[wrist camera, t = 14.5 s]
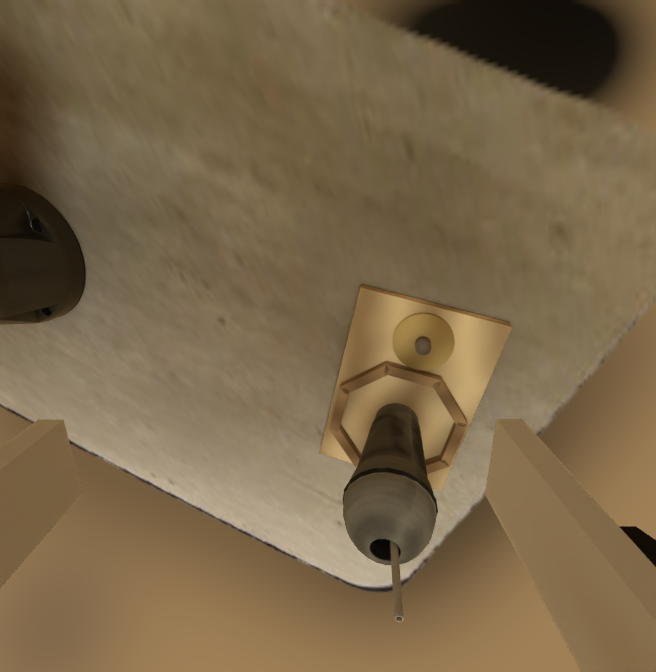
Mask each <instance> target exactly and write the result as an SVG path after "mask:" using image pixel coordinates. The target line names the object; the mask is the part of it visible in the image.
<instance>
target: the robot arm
mask: <svg viewBox="0 0 656 672" xmlns="http://www.w3.org/2000/svg"><path fill="white" fill-rule="evenodd" d="M83 286H84V264H83V259H82V255H81V251H80V248H79V245H78V243H77V241H76V238H75V236H74V234H73V232H72V231H71V229H70V227H69V226H68V224H67V223H66V221H65V220H64V219H63V217H62V216H61V215H60V214H59V212H58V211H57V210H56V209H55V208H54V207H53V206H52V205H51V204H50V203H48V202H47V201H46V200H45V199H44V198H42V197H41V196H39V195H38V194H36V193H34V192H33V191H31V190H29V189H26V188H24V187H21V186H18V185H13V184H0V324H31V323H40V322H45V321H48V320H51V319H53V318H56V317H59V316H61V315H64V314H66V313H67V312H69V311H70V310H71V309H72V308H73V307H74V306H75V305H76V304H77V302H78V301H79V299H80V297H81V294H82V291H83ZM81 495H82V490H81V487H80V483H79V479H78V475H77V471H76V467H75V463H74V459H73V455H72V451H71V447H70V443H69V440H68V436H67V432H66V428H65V424H64V420H37V421H36V422H35V423H33V424H32V425H30V426H29V427H28V428H26V429H25V430H24V431H22V432H21V433H19V434H18V435H17V436H16V437H14V438H13V439H11V440H10V441H8V442H7V443H6V444H4V445H3V446H2V447H0V588H1V587H2V586H3V585H4V584H5V582H6V581H7V580H8V579H9V578H10V577H11V575H12V574H13V573H14V572H15V571H16V570H17V569H18V567H19V566H20V565H21V564H22V563H23V562H24V560H25V559H26V558H27V557H28V556H29V554H31V552H32V551H33V550H34V549H35V547H37V545H38V544H39V543H40V542H41V541H42V540H43V539H44V537H45V536H46V535H47V534H48V533H49V532H50V531H51V529H52V528H53V527H54V526H55V525H56V523H57V522H58V521H59V520H60V519H61V518H62V517H63V515H64V514H65V513H66V512H67V511H68V510H69V509H70V507H71V506H72V505H73V504H74V503H75V502H76V500H77V499H78V498H79V497H80V496H81ZM485 495H486V497H487V499H488V500H489V502H490V504H491V506H492V508H493V510H494V512H495V513H496V515H497V517H498V519H499V521H500V523H501V524H502V526H503V528H504V529H505V532H506V534H507V536H508V537H509V539H510V541H511V543H512V545H513V547H514V549H515V550H516V552H517V554H518V556H519V558H520V560H521V562H522V563H523V565H524V567H525V569H526V571H527V573H528V574H529V576H530V578H531V580H532V582H533V584H534V586H535V588H536V589H537V591H538V593H539V595H540V597H541V599H542V600H543V602H544V604H545V606H546V608H547V610H548V611H549V613H550V615H551V617H552V619H553V621H554V623H555V624H556V626H557V628H558V630H559V632H560V634H561V636H562V638H563V639H564V641H565V643H566V645H567V647H568V648H569V651H570V652H571V654H572V656H573V658H574V659H575V662H576V663H577V665H578V667H579V669H580V671H581V672H656V540H655V539H653V538H652V537H650V536H649V535H647V534H646V533H644V532H643V531H642V530H640V529H639V528H637V527H619V526H618V525H617V524H616V523H615V522H614V520H613V519H612V518H611V517H610V516H609V515H608V514H607V513H606V512H605V510H604V509H603V508H602V507H601V506H600V505H599V504H598V503H597V502H596V501H595V500H594V498H593V497H592V496H591V495H590V494H589V493H588V492H587V491H586V490H585V488H584V487H583V486H582V485H581V484H580V483H579V482H578V481H577V480H576V478H575V477H574V476H573V475H572V474H571V473H570V472H569V471H568V470H567V468H566V467H565V466H564V465H563V464H562V463H561V462H560V461H559V460H558V459H557V457H556V456H555V455H554V454H553V453H552V452H551V451H550V450H549V449H548V447H547V446H546V445H545V444H544V443H543V442H542V441H541V440H540V439H539V437H538V436H537V435H536V434H535V433H534V432H533V431H532V430H531V429H530V428H529V426H528V425H527V424H526V423H525V422H524V421H523V420H522V419H497V420H496V426H495V433H494V439H493V446H492V452H491V459H490V465H489V472H488V478H487V485H486V491H485Z"/></svg>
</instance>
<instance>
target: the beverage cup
mask: <svg viewBox="0 0 656 672" xmlns="http://www.w3.org/2000/svg"><path fill="white" fill-rule="evenodd" d="M343 505H344V507H343V516H344V521H345V525H346V529H347V532H348V534H349V537H350V538H351V540H352V541H353V543H354V544H355V546H356V547H357V549H358V550H359V551H360V552H362V553H363V554H364V555H365V556H366V557H368V558H369V559H371V560H373V561H375V562H377V563H381V564H384V565H392V582H393V598H394V615H395V620H396V621H397V622H401V621H403V606H402V593H401V580H400V567H399V564H403V563H407V562H409V561H410V560H412V559H414V558H416V557H417V556H418V555H419V554H420V553H421V552H422V551H423V550H424V548H425V547H426V546H427V545H428V543H429V541H430V539H431V537H432V533H433V530H434V526H435V522H436V516H437V513H438V509H437V503H436V499H435V497H434V495H433V491H432V487H431V484H430V481H429V480H428V476H427V470H426V463H425V457H424V450H423V444H422V437H421V431H420V426H419V423H418V417H417V415H416V414H415V412H414V411H413V410H412V409H411V408H410V407H408V406H406V405H403V404H398V403H392V404H388V405H385V406H383V407H382V408H380V409H379V410H378V412H377V414H376V417H375V419H374V421H373V422H372V425H371V428H370V431H369V434H368V437H367V440H366V443H365V446H364V449H363V451H362V454H361V457H360V460H359V463H358V466H357V469H356V470H355V472H354V474H353V475H352V477H351V479H350V481H349V483H348V484H347V486H346V487H345V489H344V495H343Z"/></svg>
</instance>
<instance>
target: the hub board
mask: <svg viewBox="0 0 656 672" xmlns="http://www.w3.org/2000/svg"><path fill="white" fill-rule="evenodd" d="M511 329H512V326H511V324H510V323H509V322H505V321H501V320H497V319H494V318H490V317H486V316H482V315H478V314H474V313H471V312H467V311H463V310H459V309H455V308H451V307H447V306H444V305H440V304H436V303H432V302H428V301H424V300H420V299H417V298H413V297H409V296H405V295H401V294H397V293H393V292H390V291H386V290H382V289H378V288H374V287H370V286H366V285H363V284H362V285H361V287H360V290H359V294H358V298H357V302H356V306H355V310H354V314H353V318H352V322H351V327H350V331H349V335H348V339H347V343H346V347H345V351H344V355H343V359H342V363H341V367H340V371H339V375H338V379H337V383H336V387H335V391H334V395H333V399H332V403H331V407H330V411H329V415H328V419H327V424H326V428H325V432H324V436H323V440H322V444H321V448H320V452H319V453H321V454H324V455H327V456H331V457H334V458H337V459H340V460H343V461H346V462H349V463H353V464H354V466H355V467H357V466H358V463H359V460H360V457H361V454H362V451H363V449H364V446H365V443H366V440H367V437H368V434H369V431H370V428H371V425H372V422H373V421H374V419H375V417H376V414H377V412H378V410H379V409H380V408H382V407H383V406H385V405H388V404H392V403H398V404H403V405H406V406H408V407H410V408H411V409H412V410H413V411H414V412H415V414H416V415H417V417H418V423H419V426H420V431H421V437H422V444H423V450H424V457H425V463H426V470H427V476H428V480H429V481H430V484H431V487H432V489H435V490H438V491H441V490H442V488H443V485H444V483H445V481H446V478H447V476H448V474H449V471H450V469H451V467H452V465H453V462H454V460H455V458H456V455H457V453H458V451H459V449H460V446H461V444H462V442H463V439H464V437H465V435H466V432H467V430H468V428H469V426H470V423H471V421H472V419H473V416H474V414H475V412H476V409H477V407H478V405H479V403H480V400H481V398H482V396H483V393H484V391H485V389H486V387H487V384H488V382H489V380H490V377H491V375H492V373H493V370H494V368H495V366H496V364H497V361H498V359H499V357H500V354H501V352H502V350H503V347H504V345H505V343H506V341H507V338H508V336H509V334H510V331H511Z"/></svg>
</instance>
